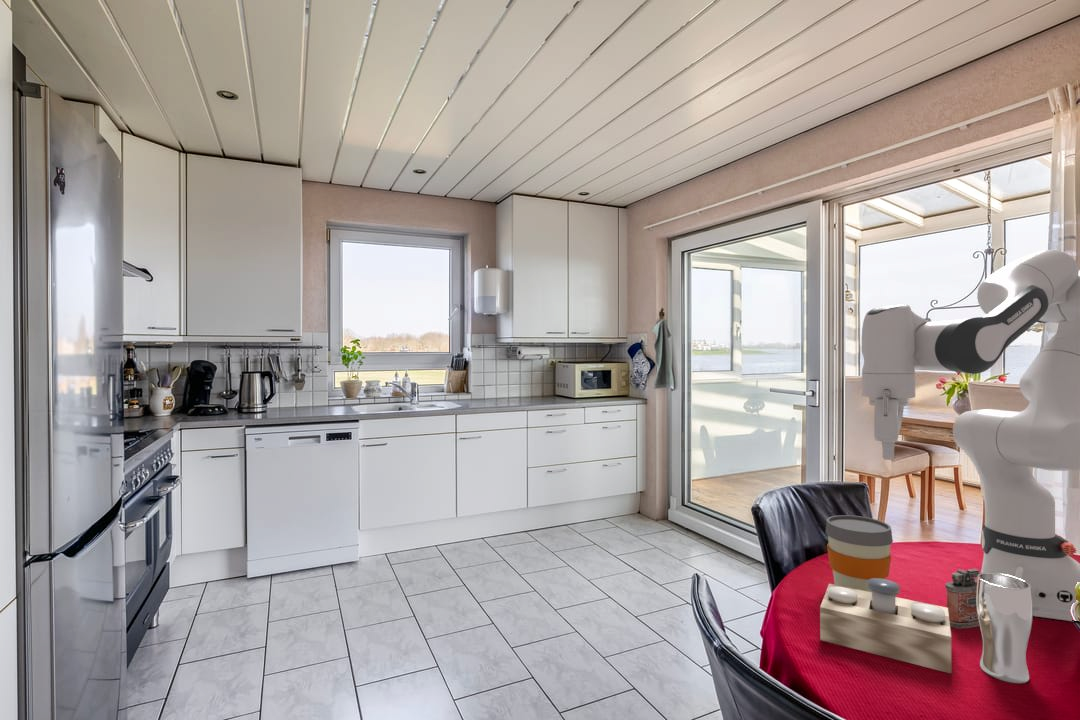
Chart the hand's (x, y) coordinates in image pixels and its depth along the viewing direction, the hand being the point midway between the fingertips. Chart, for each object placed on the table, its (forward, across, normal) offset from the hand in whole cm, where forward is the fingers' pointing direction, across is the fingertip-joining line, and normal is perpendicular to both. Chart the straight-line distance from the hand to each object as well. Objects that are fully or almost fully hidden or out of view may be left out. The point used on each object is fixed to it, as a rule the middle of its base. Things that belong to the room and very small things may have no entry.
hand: (888, 458), depth 107 cm
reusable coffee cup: (+31, +9, +6) cm, 33 cm away
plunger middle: (+28, -11, 0) cm, 30 cm away
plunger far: (+31, -11, +7) cm, 33 cm away
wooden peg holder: (+31, -11, 0) cm, 33 cm away
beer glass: (+31, -12, -16) cm, 37 cm away
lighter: (+31, +5, -12) cm, 34 cm away
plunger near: (+31, -11, -6) cm, 33 cm away
